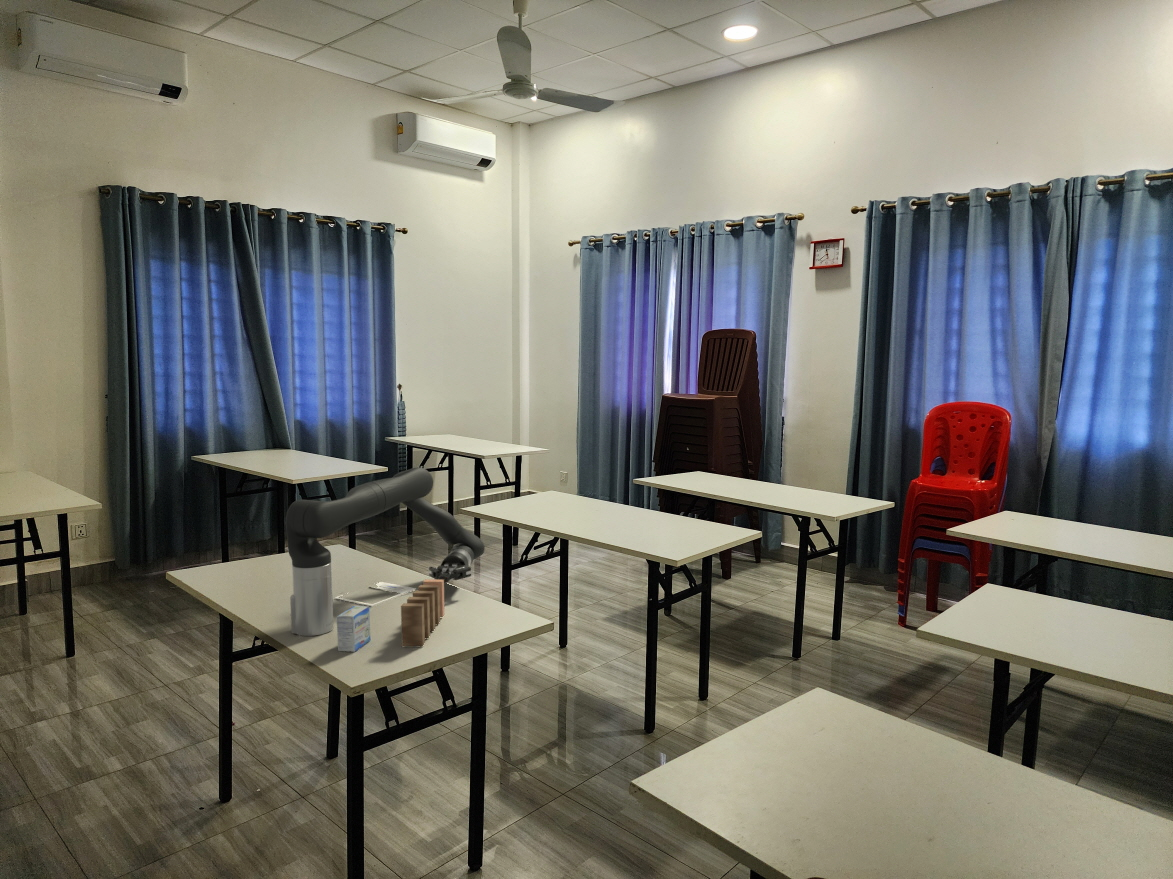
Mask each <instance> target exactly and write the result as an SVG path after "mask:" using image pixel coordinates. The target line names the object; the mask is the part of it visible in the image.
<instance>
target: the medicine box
mask: <svg viewBox="0 0 1173 879" xmlns="http://www.w3.org/2000/svg"><path fill="white" fill-rule="evenodd" d="M370 614H371V613H370V607H369V606H364V605H354V606H352V607H350V608H349V609H347V610H345V611H343V612H341V613H340V614H339V615H337V616H336V630H337V635H336V636H337V648H338V649H337V650H338V652H345V651H351V652H350V653H356V652H357V651H358V649H359V648H360V649H362V647H364V646H365V645H367V644H368V643H369V642H370V641H371V615H370ZM367 642H368V643H367ZM363 645H364V646H363ZM360 649H359V650H360ZM355 651H356V652H355Z"/></svg>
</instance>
